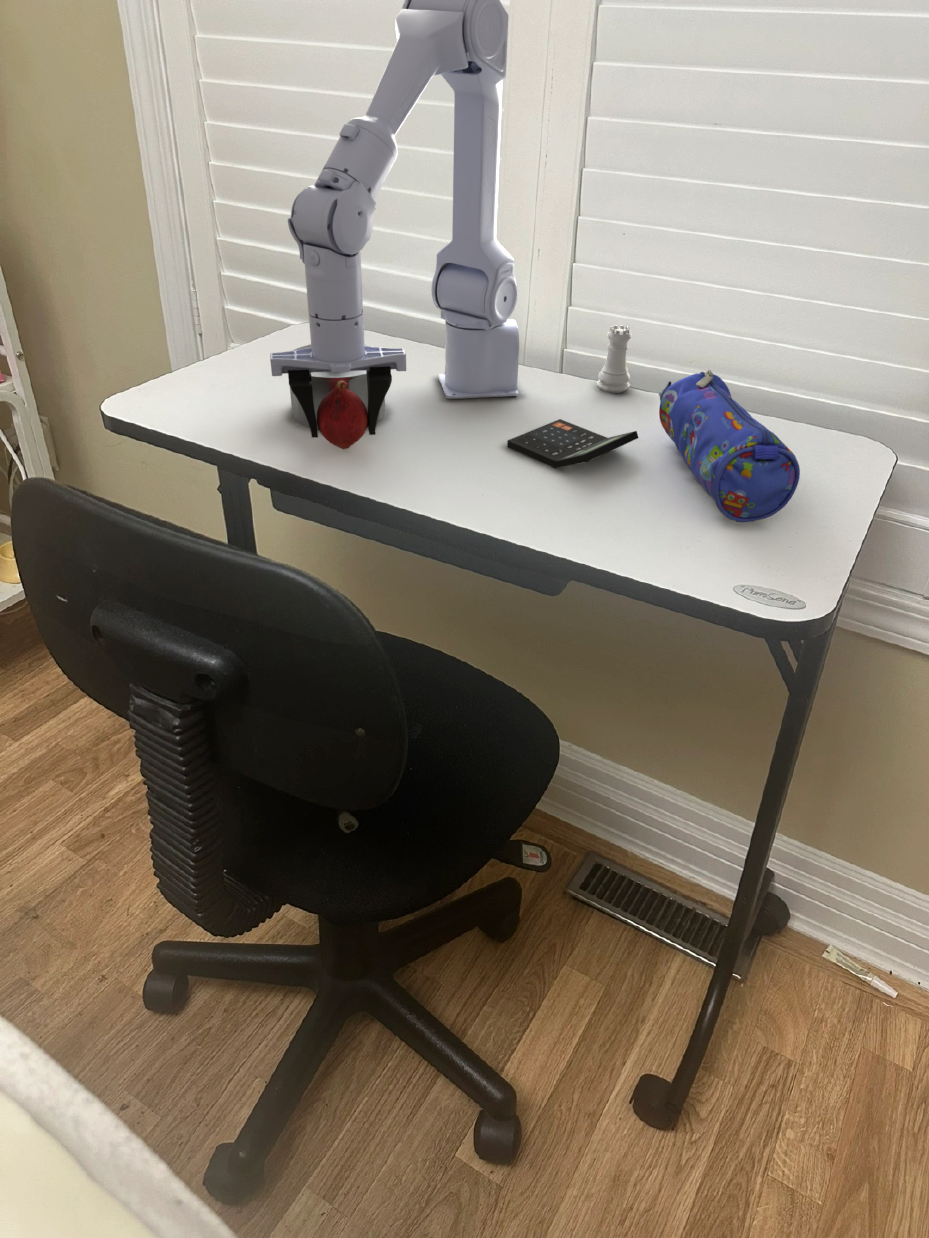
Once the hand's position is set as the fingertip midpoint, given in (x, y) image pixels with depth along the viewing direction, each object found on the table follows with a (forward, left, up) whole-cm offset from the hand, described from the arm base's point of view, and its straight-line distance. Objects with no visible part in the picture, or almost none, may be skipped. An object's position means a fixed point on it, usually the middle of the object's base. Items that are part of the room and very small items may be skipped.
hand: (343, 432), depth 103 cm
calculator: (-26, +4, -2) cm, 26 cm away
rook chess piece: (-37, -15, -2) cm, 40 cm away
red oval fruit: (0, 0, -2) cm, 2 cm away
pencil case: (-40, +13, -2) cm, 42 cm away
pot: (0, -11, -2) cm, 11 cm away
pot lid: (0, -11, +4) cm, 11 cm away
